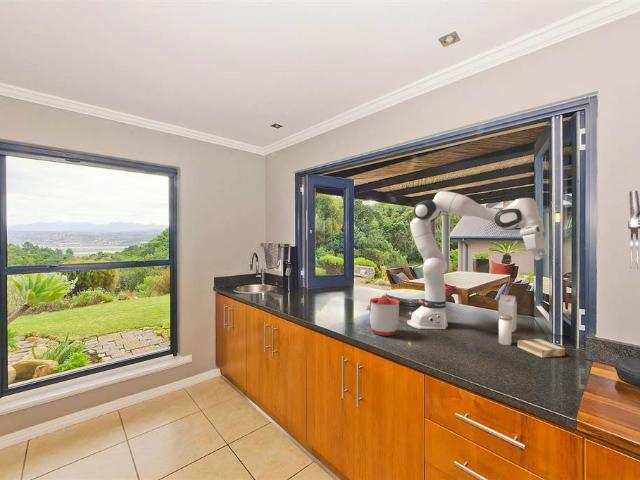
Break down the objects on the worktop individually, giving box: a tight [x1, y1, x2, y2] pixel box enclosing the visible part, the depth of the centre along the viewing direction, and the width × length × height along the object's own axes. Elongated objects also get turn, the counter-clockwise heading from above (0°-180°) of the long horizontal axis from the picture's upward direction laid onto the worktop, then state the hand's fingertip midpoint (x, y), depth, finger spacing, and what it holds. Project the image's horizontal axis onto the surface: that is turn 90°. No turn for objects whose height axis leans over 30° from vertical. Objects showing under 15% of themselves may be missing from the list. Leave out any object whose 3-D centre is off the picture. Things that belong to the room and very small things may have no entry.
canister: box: [497, 315, 513, 346], centre depth 139 cm, size 6×6×13 cm
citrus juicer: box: [365, 294, 400, 337], centre depth 153 cm, size 16×17×20 cm
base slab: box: [517, 338, 566, 359], centre depth 130 cm, size 12×12×3 cm
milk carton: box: [497, 293, 518, 333], centre depth 159 cm, size 7×7×19 cm
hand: (540, 259), depth 135 cm, fingers open, 8 cm apart
